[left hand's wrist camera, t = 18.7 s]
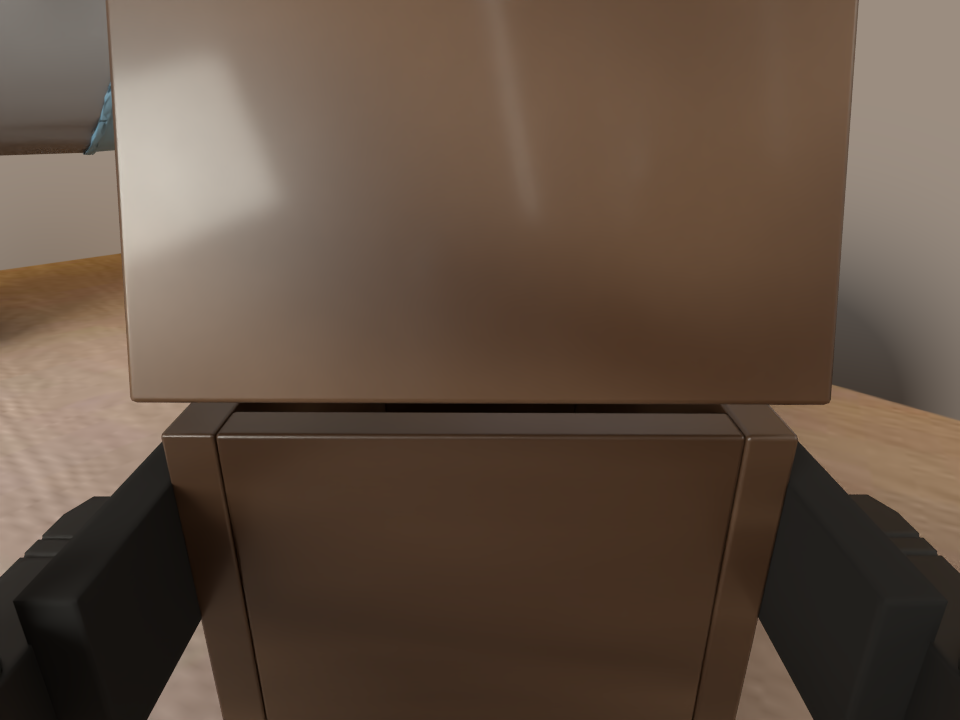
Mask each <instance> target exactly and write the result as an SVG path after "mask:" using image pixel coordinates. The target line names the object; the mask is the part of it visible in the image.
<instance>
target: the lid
mask: <svg viewBox="0 0 960 720" xmlns="http://www.w3.org/2000/svg"><path fill="white" fill-rule="evenodd" d="M105 1H106V17H107V32H108V48H109V64H110V80H111V96H112V112H113V128H114V143H115V159H116V175H117V191H118V206H119V223H120V238H121V254H122V270H123V286H124V302H125V318H126V334H127V350H128V365H129V381H130V397H131V399H132V401H135V402H178V403H461V404H743V405H824V404H827V403H829V402H830V400H831V387H832V373H833V359H834V344H835V330H836V316H837V301H838V288H839V273H840V259H841V244H842V230H843V216H844V202H845V188H846V174H847V159H848V145H849V131H850V116H851V102H852V88H853V74H854V60H855V45H856V31H857V17H858V2H859V0H105Z"/></svg>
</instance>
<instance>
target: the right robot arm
mask: <svg viewBox="0 0 960 720" xmlns="http://www.w3.org/2000/svg"><path fill="white" fill-rule="evenodd" d="M111 150H115V143H114V128H113V112H112V96H111V80H110V64H109V48H108V32H107V17H106V1H105V0H0V155H29V154H59V153H83V154H84V155H91V154H92V155H93V154H95V152H98V151H111Z"/></svg>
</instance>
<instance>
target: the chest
mask: <svg viewBox="0 0 960 720" xmlns="http://www.w3.org/2000/svg"><path fill="white" fill-rule="evenodd" d="M162 442H163V447H164V451H165V456H166V460H167V465H168V469H169V474H170V479H171V483H172V485H173V490H174V494H175V499H176V503H177V508H178V512H179V517H180V521H181V526H182V531H183V535H184V540H185V544H186V549H187V553H188V558H189V562H190V567H191V571H192V576H193V580H194V585H195V589H196V594H197V598H198V603H199V607H200V612H201V616H202V619H201V620H202V625H203V629H204V634H205V638H206V643H207V648H208V652H209V657H210V661H211V666H212V670H213V675H214V680H215V684H216V689H217V693H218V698H219V702H220V707H221V712H222V716H223V720H735V718H736V713H737V709H738V705H739V700H740V696H741V691H742V687H743V682H744V678H745V674H746V669H747V665H748V660H749V656H750V651H751V647H752V643H753V638H754V634H755V629H756V625H757V620H758V616H759V612H760V607H761V603H762V598H763V594H764V589H765V585H766V581H767V576H768V572H769V567H770V563H771V558H772V554H773V550H774V545H775V541H776V536H777V532H778V527H779V523H780V519H781V514H782V510H783V505H784V501H785V496H786V492H787V488H788V483H789V479H790V474H791V470H792V465H793V461H794V456H795V452H796V448H797V443H798V438H797V435H796V434H795V433H794V432H793V431H792V430H791V429H790V428H789V426H788V425H787V424H786V423H785V422H784V421H783V420H782V419H781V418H780V417H779V416H778V415H777V413H776V412H775V411H774V410H773V409H772V408H771V407H770V406H769V405H743V404H461V403H191V404H190V405H189V406H188V407H187V408H186V409H185V410H184V411H183V412H182V413H181V414H180V415H179V416H178V417H177V419H176V420H175V421H174V422H173V423H172V424H171V425H170V426H169V427H168V428H167V429H166V430H165V431H164V432H163V434H162Z"/></svg>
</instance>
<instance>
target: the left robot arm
mask: <svg viewBox="0 0 960 720" xmlns="http://www.w3.org/2000/svg"><path fill="white" fill-rule="evenodd" d="M758 617H759V619H760V621H761V623H762V625H763V627H764V629H765V630H766V632H767V634H768V636H769V638H770V640H771V641H772V643H773V645H774V647H775V649H776V651H777V653H778V654H779V656H780V658H781V660H782V662H783V664H784V666H785V667H786V669H787V671H788V673H789V675H790V677H791V679H792V680H793V682H794V684H795V686H796V688H797V690H798V691H799V693H800V695H801V697H802V699H803V701H804V703H805V704H806V706H807V708H808V710H809V712H810V714H811V716H812V717H813V719H814V720H960V573H959V572H958V571H957V570H956V569H955V568H954V567H953V566H952V565H951V564H950V563H949V562H948V561H947V560H946V559H945V558H944V557H942V556H938V555H937V551H936V550H935V549H934V548H933V547H932V546H931V545H930V544H929V543H928V542H927V541H926V540H925V539H924V538H920V537H919V533H918V532H917V531H916V530H915V529H914V528H913V527H912V526H911V525H910V524H909V523H908V522H907V521H906V520H905V519H904V518H903V517H902V516H901V515H900V514H899V513H898V512H896V511H894V510H893V509H891V508H889V507H887V506H886V505H884V504H882V503H881V502H879V501H877V500H876V499H874V498H872V497H871V496H869V495H848V494H847V493H846V492H845V491H844V490H843V488H842V487H841V486H840V485H839V484H838V483H837V482H836V481H835V480H834V479H833V478H832V477H831V476H830V475H829V474H828V473H827V471H826V470H825V469H824V468H823V467H822V466H821V465H820V464H819V463H818V462H817V461H816V460H815V459H814V458H813V457H812V455H811V454H810V453H809V452H808V451H807V450H806V449H805V448H804V447H803V446H802V445H801V444H800V443H799V442H798V443H797V448H796V452H795V456H794V461H793V465H792V470H791V474H790V479H789V483H788V488H787V492H786V496H785V501H784V505H783V510H782V514H781V519H780V523H779V527H778V532H777V536H776V541H775V545H774V550H773V554H772V558H771V563H770V567H769V572H768V576H767V581H766V585H765V589H764V594H763V598H762V603H761V607H760V612H759V616H758ZM201 619H202V616H201V612H200V607H199V603H198V598H197V594H196V589H195V585H194V580H193V576H192V571H191V567H190V562H189V558H188V553H187V549H186V544H185V540H184V535H183V531H182V526H181V521H180V517H179V512H178V508H177V503H176V499H175V494H174V490H173V485H172V483H171V479H170V474H169V469H168V465H167V460H166V456H165V451H164V447H163V442H161V443H160V445H159V446H158V447H157V448H156V449H155V450H154V451H153V452H152V453H151V454H150V455H149V456H148V457H147V458H146V459H145V461H144V462H143V463H142V464H141V465H140V466H139V467H138V468H137V469H136V470H135V471H134V472H133V473H132V474H131V475H130V477H129V478H128V479H127V480H126V481H125V482H124V483H123V484H122V485H121V486H120V487H119V488H118V489H117V490H116V491H115V492H114V494H113V495H112V496H111V497H92V498H91V499H89V500H87V501H86V502H84V503H82V504H81V505H79V506H77V507H76V508H74V509H72V510H71V511H69V512H67V513H65V514H64V515H63V516H62V517H61V518H60V519H59V520H58V521H57V522H56V523H55V524H54V525H53V526H52V527H51V528H50V529H49V530H48V531H47V532H46V533H45V534H44V535H43V538H42V540H37V541H36V542H35V543H34V544H33V545H32V546H31V547H30V548H29V549H28V550H27V551H26V552H25V556H24V558H19V559H18V560H17V561H16V562H15V563H14V564H13V565H12V566H11V567H10V568H9V569H8V570H7V571H6V572H5V573H4V574H3V575H2V576H1V577H0V720H147V719H148V717H149V715H150V713H151V711H152V709H153V708H154V706H155V704H156V702H157V700H158V698H159V696H160V695H161V693H162V691H163V689H164V687H165V685H166V683H167V682H168V680H169V678H170V676H171V674H172V672H173V671H174V669H175V667H176V665H177V663H178V661H179V659H180V658H181V656H182V654H183V652H184V650H185V648H186V646H187V645H188V643H189V641H190V639H191V637H192V635H193V633H194V632H195V630H196V628H197V626H198V624H199V622H200V621H201Z"/></svg>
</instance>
